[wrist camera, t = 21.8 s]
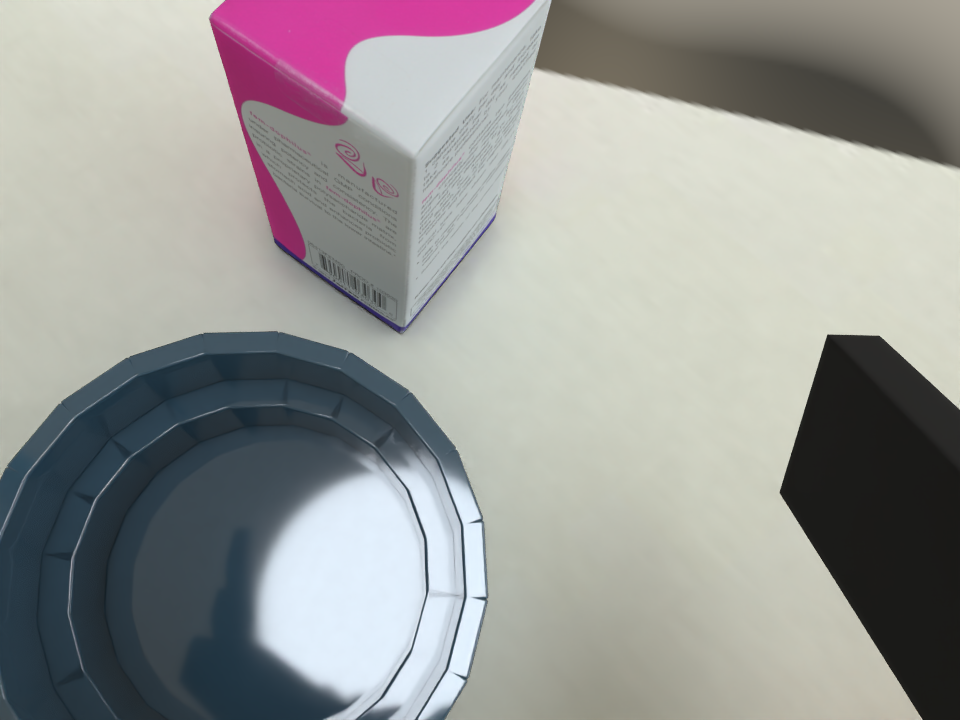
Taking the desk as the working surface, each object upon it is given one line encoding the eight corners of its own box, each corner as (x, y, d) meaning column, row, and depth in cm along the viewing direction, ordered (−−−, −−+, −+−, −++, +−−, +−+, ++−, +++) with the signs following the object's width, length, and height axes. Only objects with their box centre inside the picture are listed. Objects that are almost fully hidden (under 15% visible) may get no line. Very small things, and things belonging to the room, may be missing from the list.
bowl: (-6, 734, 24) (-132, 777, 18) (151, 343, 27) (87, 277, 22) (404, 843, 24) (409, 920, 18) (506, 443, 28) (537, 403, 22)
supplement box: (500, 213, 30) (564, -9, 19) (402, 338, 28) (409, 173, 17) (372, 124, 30) (361, -143, 19) (267, 242, 29) (191, 22, 18)
